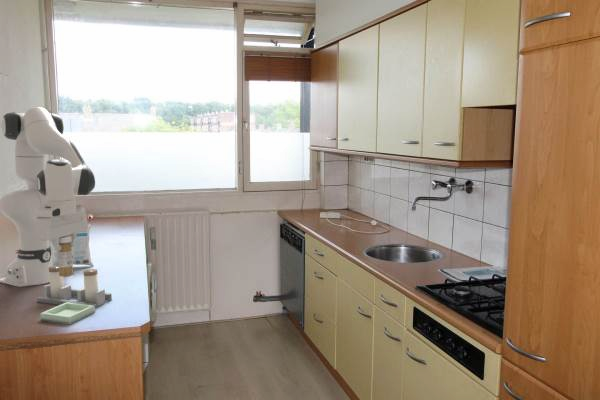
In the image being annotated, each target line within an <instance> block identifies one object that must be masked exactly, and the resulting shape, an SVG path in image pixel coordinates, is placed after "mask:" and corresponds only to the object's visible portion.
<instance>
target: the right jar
mask: <svg viewBox="0 0 600 400" xmlns="http://www.w3.org/2000/svg"><path fill="white" fill-rule="evenodd" d="M98 273H99V272H98V269H95V268H91V269H90V268H89V269H85V270H83V271H82V274H83V284H84V287H85V302H86V303H94V304H95V305H96V303H95V292H97V291H99V282H98V281H99V280H98ZM84 287H83V288H84Z"/></svg>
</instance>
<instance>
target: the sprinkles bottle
mask: <svg viewBox="0 0 600 400" xmlns="http://www.w3.org/2000/svg"><path fill="white" fill-rule="evenodd" d="M71 241H72V240H71V236H63V237H60V238H59V241H58V243H59V245H62V250H61V251H58V264H59V276H60V277H63V278H65V277H66V278H68V277H72V276H74V269H73V268H74V267H73V260H72V249H71Z"/></svg>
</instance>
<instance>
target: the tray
mask: <svg viewBox="0 0 600 400" xmlns="http://www.w3.org/2000/svg"><path fill="white" fill-rule="evenodd" d="M95 308H96V305H95V306H93V305H85V304H78V303H70V302H66V303H64V304H61V305H59V304H58V305H57V306H54V307H52V308H50V309H48V310H45V311H43V312H40V321H43V322H50V323H57V324H63V325H64V324H65V325H72V324H74V323H76V322H79V321H80V320H82V319H85V318H87V317H89V316H91V315H93V314H95V313H96V309H95Z"/></svg>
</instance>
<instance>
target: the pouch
mask: <svg viewBox="0 0 600 400" xmlns="http://www.w3.org/2000/svg"><path fill="white" fill-rule="evenodd" d="M91 228H92V223H90V224H88V229H87V231H83V232H79V233H76V239H75V242H74V247H71V249H72V260H73V265H78V266H81V265H82V266H83V265H84V266H90V267H94V264H93V261H92V258H91V250H90V231H91ZM67 236H69V235H67ZM49 242H50V247H51V259H52V264H53V266H59V264H58V251H55V249H54V245H53V244H52V242H51V240H49Z"/></svg>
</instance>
